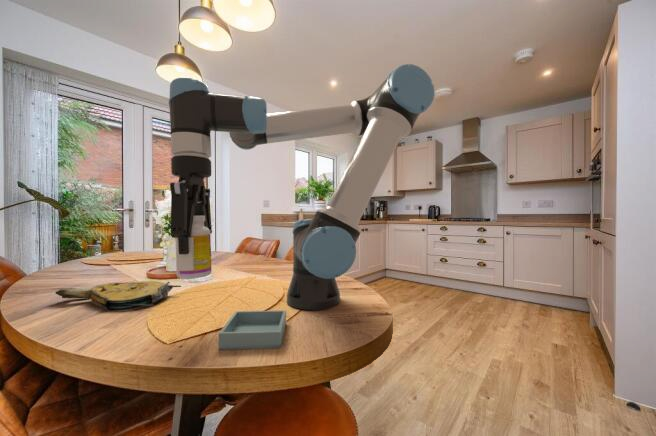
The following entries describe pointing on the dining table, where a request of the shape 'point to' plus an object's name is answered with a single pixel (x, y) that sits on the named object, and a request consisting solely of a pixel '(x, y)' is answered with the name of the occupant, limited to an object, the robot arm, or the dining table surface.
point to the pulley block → (121, 294)
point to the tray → (253, 330)
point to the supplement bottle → (198, 251)
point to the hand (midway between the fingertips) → (194, 266)
